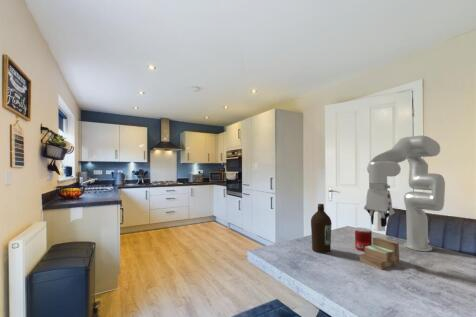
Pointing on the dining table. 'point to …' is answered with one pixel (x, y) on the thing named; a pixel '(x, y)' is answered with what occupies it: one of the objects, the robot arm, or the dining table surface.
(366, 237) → the canned food
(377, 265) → the stand
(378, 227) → the pepper shaker
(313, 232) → the olive oil
